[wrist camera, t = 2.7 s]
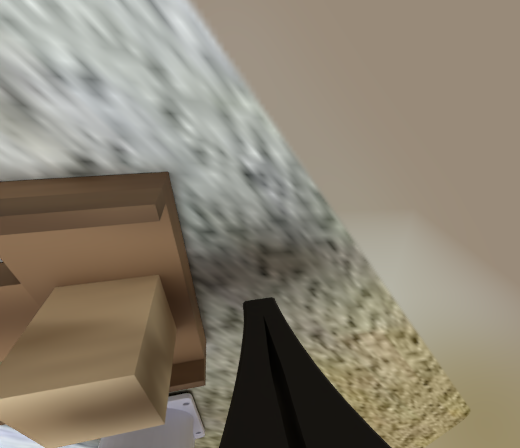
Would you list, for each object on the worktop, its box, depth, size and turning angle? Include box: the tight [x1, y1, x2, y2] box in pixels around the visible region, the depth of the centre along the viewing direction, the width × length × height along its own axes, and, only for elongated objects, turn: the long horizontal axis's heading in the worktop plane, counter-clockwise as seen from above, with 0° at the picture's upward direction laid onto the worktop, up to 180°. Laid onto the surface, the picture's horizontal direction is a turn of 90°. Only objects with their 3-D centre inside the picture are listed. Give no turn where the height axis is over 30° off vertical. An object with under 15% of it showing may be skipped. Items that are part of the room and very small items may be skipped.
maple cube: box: [0, 275, 177, 448], centre depth 9 cm, size 4×4×4 cm
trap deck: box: [0, 172, 206, 425], centre depth 10 cm, size 12×15×4 cm
